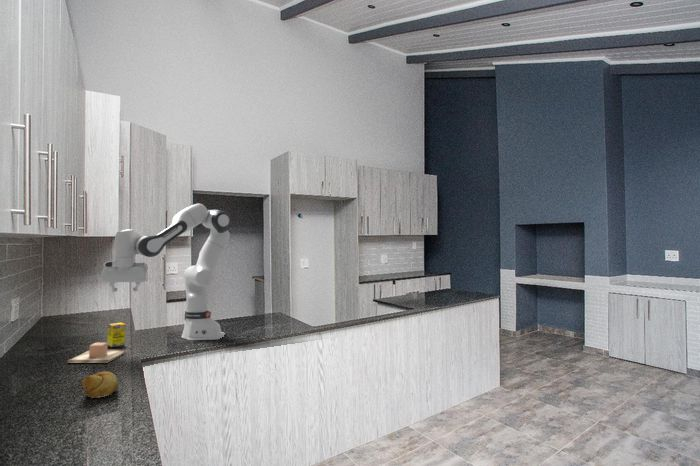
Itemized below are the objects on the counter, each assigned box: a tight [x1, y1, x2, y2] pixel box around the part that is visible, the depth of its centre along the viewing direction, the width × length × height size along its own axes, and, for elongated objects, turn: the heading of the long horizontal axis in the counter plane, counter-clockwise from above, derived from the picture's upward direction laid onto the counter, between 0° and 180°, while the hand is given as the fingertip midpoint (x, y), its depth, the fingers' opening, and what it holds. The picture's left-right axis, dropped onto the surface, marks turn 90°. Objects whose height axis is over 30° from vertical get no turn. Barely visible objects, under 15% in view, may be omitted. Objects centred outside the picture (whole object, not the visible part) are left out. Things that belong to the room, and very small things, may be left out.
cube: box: [88, 342, 109, 357], centre depth 172 cm, size 5×5×5 cm
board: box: [67, 349, 127, 364], centre depth 172 cm, size 16×16×2 cm
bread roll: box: [81, 370, 118, 397], centre depth 134 cm, size 13×10×8 cm
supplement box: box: [106, 322, 127, 349], centre depth 192 cm, size 6×6×11 cm
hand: (125, 291), depth 189 cm, fingers open, 8 cm apart
